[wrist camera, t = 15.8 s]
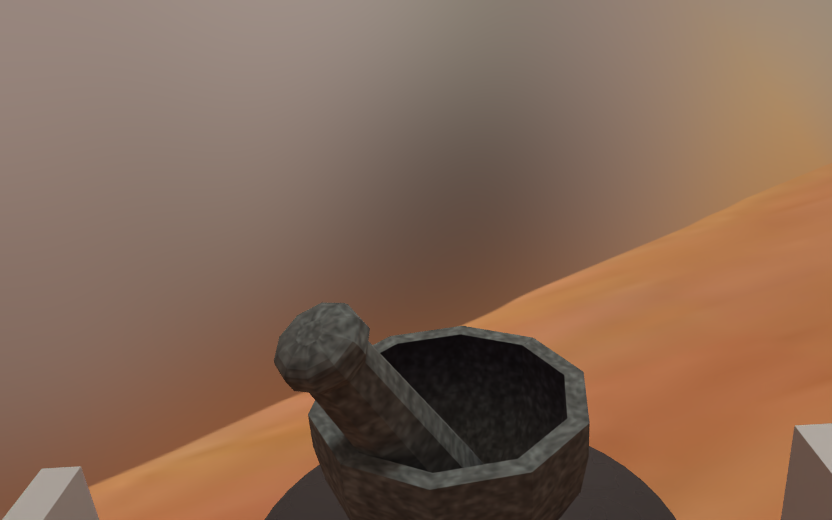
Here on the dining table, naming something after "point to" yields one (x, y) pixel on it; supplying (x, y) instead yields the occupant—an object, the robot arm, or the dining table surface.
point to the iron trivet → (586, 516)
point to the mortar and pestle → (438, 419)
